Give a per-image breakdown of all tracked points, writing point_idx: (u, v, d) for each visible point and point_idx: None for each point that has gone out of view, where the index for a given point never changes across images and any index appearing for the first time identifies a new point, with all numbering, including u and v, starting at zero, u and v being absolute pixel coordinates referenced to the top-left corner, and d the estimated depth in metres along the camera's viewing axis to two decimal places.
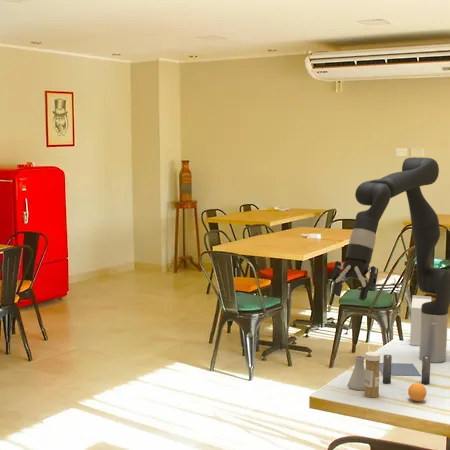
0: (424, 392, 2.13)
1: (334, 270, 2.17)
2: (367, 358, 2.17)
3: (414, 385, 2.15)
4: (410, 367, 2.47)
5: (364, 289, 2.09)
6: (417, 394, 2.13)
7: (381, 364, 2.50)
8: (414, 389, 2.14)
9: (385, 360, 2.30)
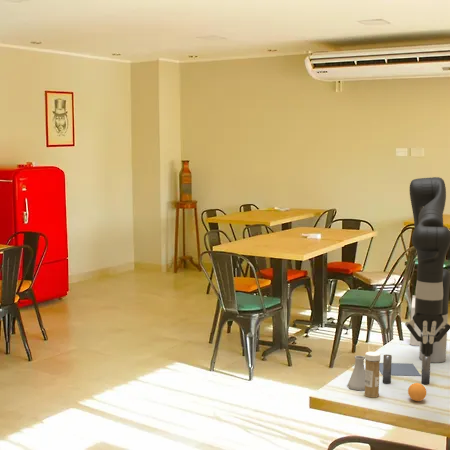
0: (424, 392, 2.13)
1: (413, 333, 2.03)
2: (367, 358, 2.17)
3: (414, 385, 2.15)
4: (410, 367, 2.47)
5: (431, 345, 2.03)
6: (417, 394, 2.13)
7: (381, 364, 2.50)
8: (414, 389, 2.14)
9: (385, 360, 2.30)
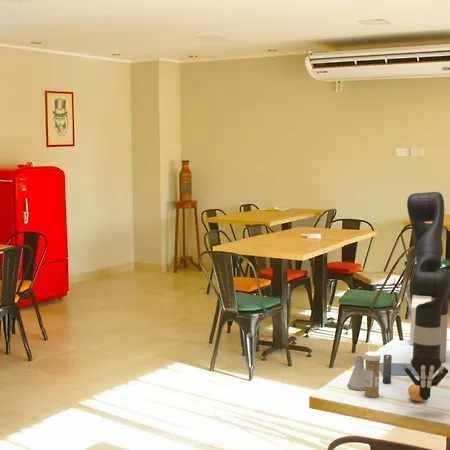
0: None
1: (411, 377, 2.04)
2: (367, 358, 2.17)
3: (414, 385, 2.15)
4: None
5: (429, 389, 2.05)
6: (417, 394, 2.13)
7: (381, 364, 2.50)
8: (414, 389, 2.14)
9: (385, 360, 2.30)
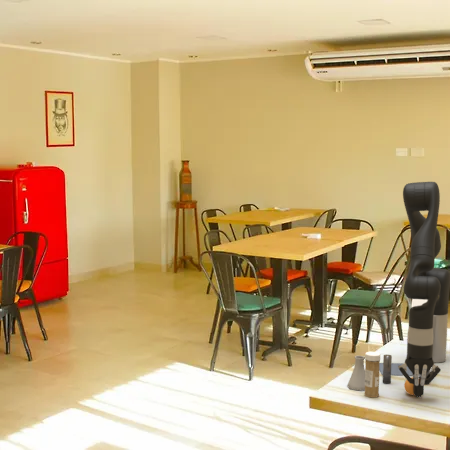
0: None
1: (406, 375, 2.15)
2: (367, 358, 2.17)
3: None
4: None
5: (422, 387, 2.16)
6: None
7: (381, 364, 2.50)
8: None
9: (385, 360, 2.30)
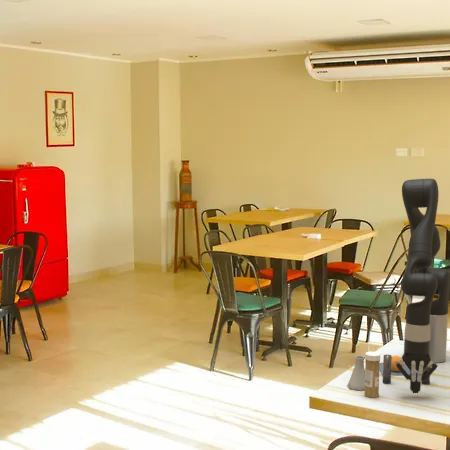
0: None
1: (402, 371, 2.17)
2: (367, 358, 2.17)
3: (393, 370, 2.43)
4: None
5: (419, 383, 2.17)
6: None
7: (381, 364, 2.50)
8: None
9: (385, 360, 2.30)
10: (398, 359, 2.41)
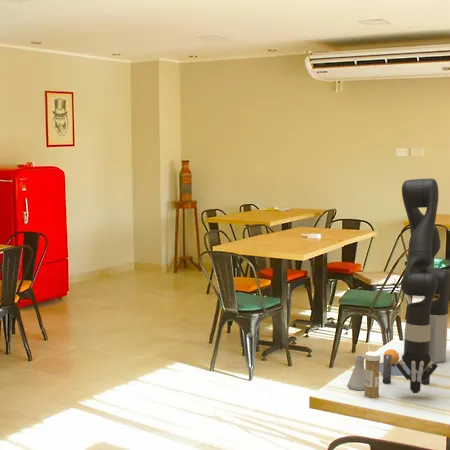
0: (397, 355, 2.49)
1: (402, 371, 2.17)
2: (367, 358, 2.17)
3: (388, 350, 2.51)
4: None
5: (419, 383, 2.17)
6: None
7: (381, 364, 2.50)
8: (388, 352, 2.50)
9: (385, 360, 2.30)
10: None
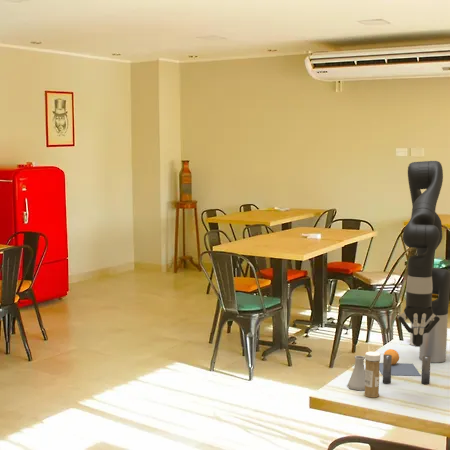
0: (397, 355, 2.49)
1: (405, 325, 2.15)
2: (367, 358, 2.17)
3: (388, 350, 2.51)
4: (410, 367, 2.47)
5: (421, 336, 2.16)
6: None
7: (381, 364, 2.50)
8: (388, 352, 2.50)
9: (385, 360, 2.30)
10: None
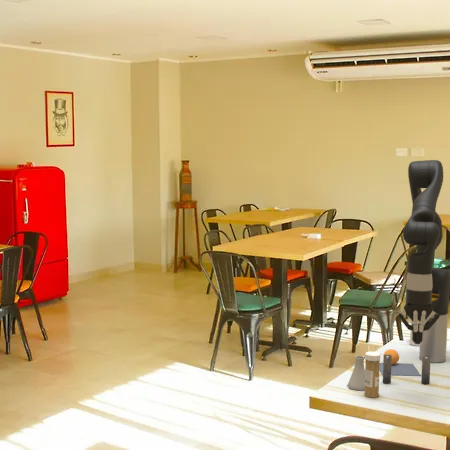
0: (397, 355, 2.49)
1: (404, 322, 2.15)
2: (367, 358, 2.17)
3: (388, 350, 2.51)
4: (410, 367, 2.47)
5: (421, 333, 2.16)
6: None
7: (381, 364, 2.50)
8: (388, 352, 2.50)
9: (385, 360, 2.30)
10: None
